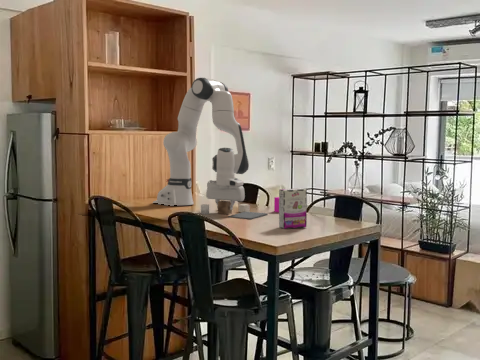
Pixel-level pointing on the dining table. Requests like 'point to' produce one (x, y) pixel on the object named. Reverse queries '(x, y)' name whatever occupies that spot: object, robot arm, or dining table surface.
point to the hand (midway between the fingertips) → (224, 209)
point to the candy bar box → (292, 208)
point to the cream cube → (244, 208)
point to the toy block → (276, 204)
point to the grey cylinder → (204, 209)
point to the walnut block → (224, 207)
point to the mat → (248, 215)
